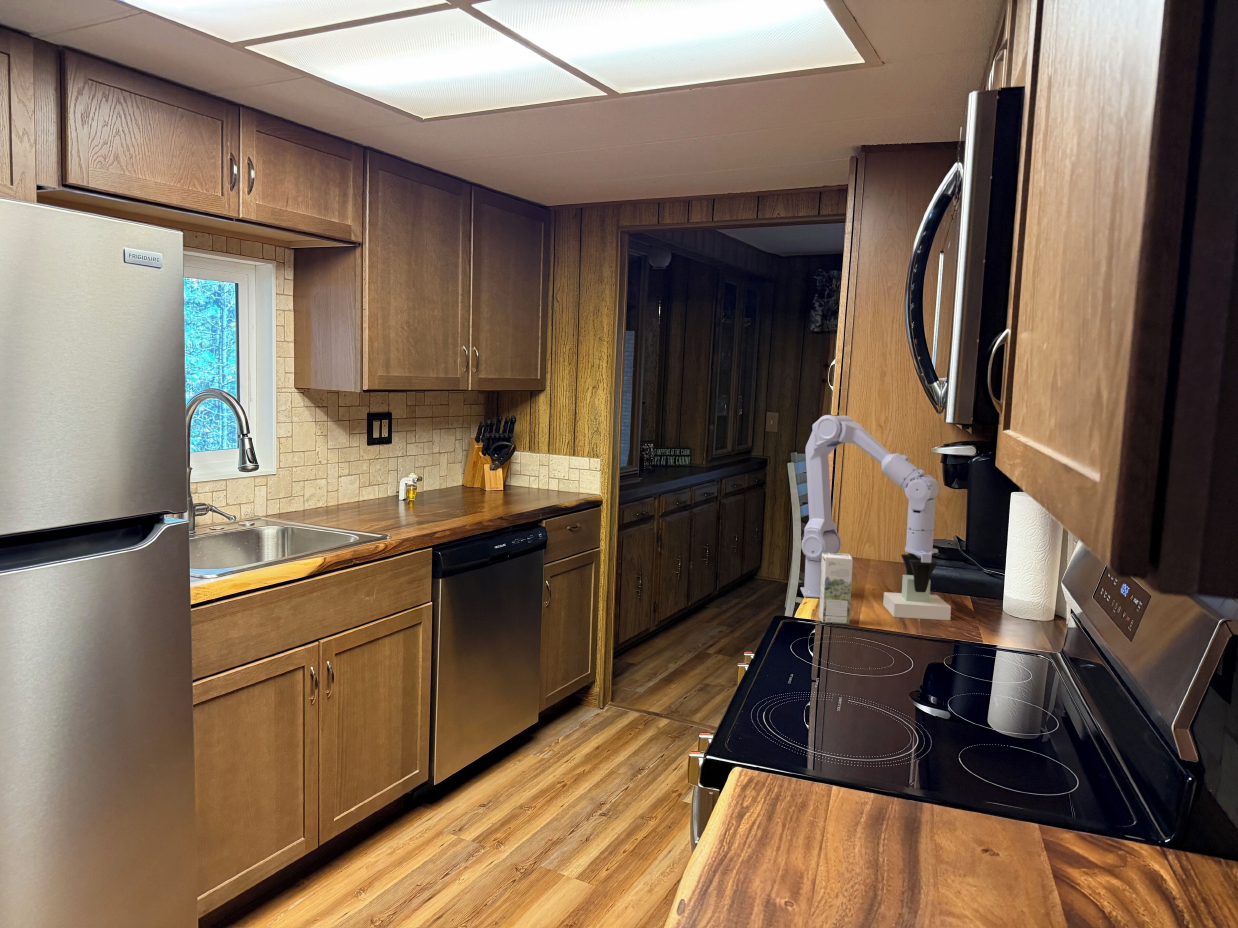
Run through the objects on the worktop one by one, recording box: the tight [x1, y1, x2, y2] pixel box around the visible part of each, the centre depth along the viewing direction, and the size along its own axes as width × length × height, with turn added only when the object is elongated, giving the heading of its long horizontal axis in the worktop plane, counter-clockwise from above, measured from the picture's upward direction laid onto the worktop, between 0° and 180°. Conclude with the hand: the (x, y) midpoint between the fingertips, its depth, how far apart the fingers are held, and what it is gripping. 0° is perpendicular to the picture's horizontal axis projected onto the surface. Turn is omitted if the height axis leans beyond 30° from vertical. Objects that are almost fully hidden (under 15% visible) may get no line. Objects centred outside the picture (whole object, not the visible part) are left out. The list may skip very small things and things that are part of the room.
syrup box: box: [818, 552, 854, 625], centre depth 182 cm, size 6×6×14 cm
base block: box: [882, 591, 952, 621], centre depth 193 cm, size 12×12×3 cm
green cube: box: [901, 574, 931, 602], centre depth 193 cm, size 5×5×5 cm
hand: (916, 588), depth 193 cm, fingers open, 6 cm apart
